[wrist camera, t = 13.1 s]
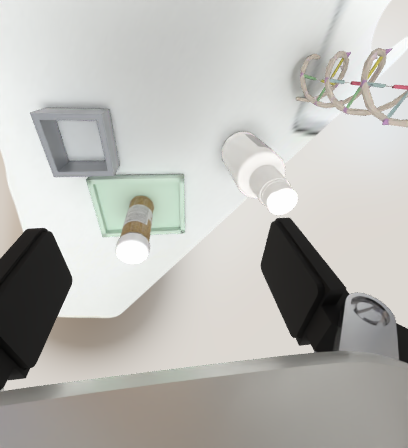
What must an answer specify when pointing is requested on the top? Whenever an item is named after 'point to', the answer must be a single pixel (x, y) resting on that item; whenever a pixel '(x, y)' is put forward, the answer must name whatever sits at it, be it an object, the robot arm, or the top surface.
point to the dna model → (363, 84)
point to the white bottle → (258, 172)
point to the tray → (131, 187)
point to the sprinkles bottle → (136, 231)
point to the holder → (55, 146)
